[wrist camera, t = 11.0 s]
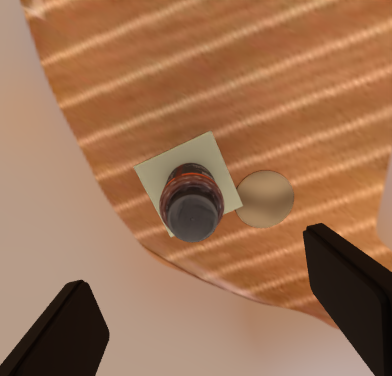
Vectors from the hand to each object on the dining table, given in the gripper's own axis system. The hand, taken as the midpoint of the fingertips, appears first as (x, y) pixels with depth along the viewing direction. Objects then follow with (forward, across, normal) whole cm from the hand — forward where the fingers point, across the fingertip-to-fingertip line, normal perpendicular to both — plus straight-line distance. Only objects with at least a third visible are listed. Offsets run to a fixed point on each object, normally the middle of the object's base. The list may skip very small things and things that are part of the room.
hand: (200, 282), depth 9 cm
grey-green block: (+24, +1, +1) cm, 24 cm away
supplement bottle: (+19, 0, 0) cm, 19 cm away
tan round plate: (+24, -9, +6) cm, 27 cm away
